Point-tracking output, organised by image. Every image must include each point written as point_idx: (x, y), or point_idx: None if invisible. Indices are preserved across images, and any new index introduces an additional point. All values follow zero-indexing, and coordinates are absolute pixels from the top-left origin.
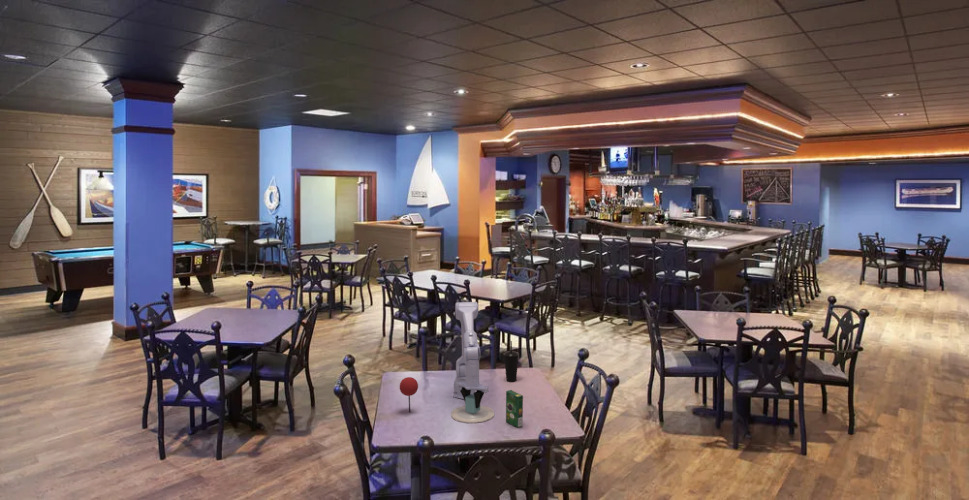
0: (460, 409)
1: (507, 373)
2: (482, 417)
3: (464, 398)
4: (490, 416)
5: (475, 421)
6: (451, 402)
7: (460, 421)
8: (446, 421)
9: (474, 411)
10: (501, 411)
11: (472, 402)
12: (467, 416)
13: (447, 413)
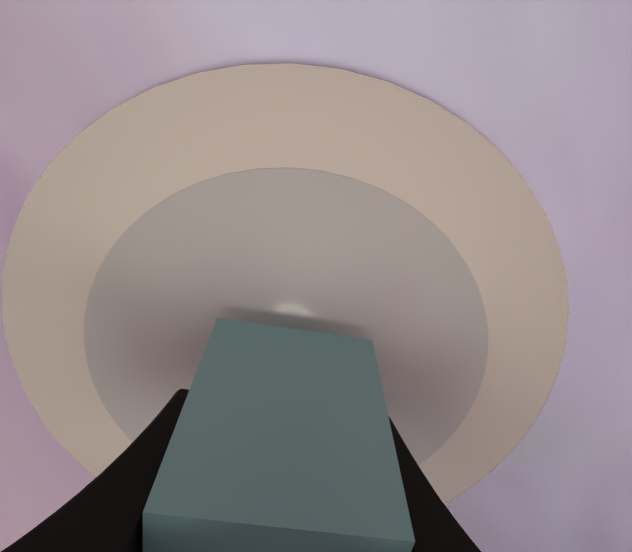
0: (474, 406)
1: None
2: (92, 282)
3: (436, 518)
4: (24, 343)
5: (100, 117)
6: (623, 536)
7: (341, 71)
8: (569, 5)
9: (211, 333)
10: (60, 507)
11: (219, 442)
12: (296, 237)
13: (613, 290)
